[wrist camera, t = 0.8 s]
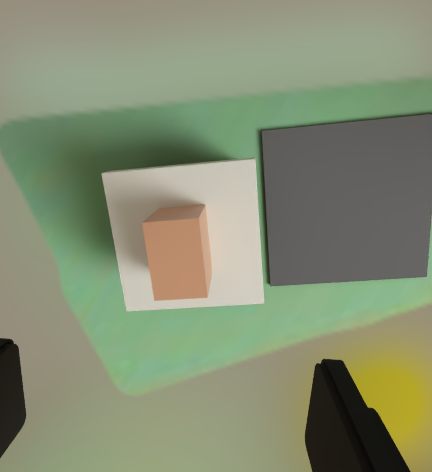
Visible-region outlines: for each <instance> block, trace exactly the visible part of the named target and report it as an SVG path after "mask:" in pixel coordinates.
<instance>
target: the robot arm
mask: <svg viewBox="0 0 432 472" xmlns="http://www.w3.org/2000/svg"><path fill="white" fill-rule="evenodd" d="M25 419H26V409H25V400H24V392H23V383H22V375H21V366H20V357H19V349H18V346H17V345H16V344H14V342H13V341H12V340H11V339H2V338H0V458H1V456H2V455H3V454H4V452H5V451H6V449H7V448H8V446H9V445H10V444H11V442H12V441H13V440H14V438H15V437H16V435H17V434H18V432H19V431H20V430H21V428H22V427H23V425H24V422H25ZM305 443H306V448H307V452H308V456H309V460H310V464H311V468H312V472H410V470H409V468H408V466H407V465H406V463H405V461H404V459H403V457H402V456H401V454H400V452H399V450H398V448H397V447H396V445H395V443H394V441H393V440H392V438H391V436H390V434H389V432H388V431H387V429H386V427H385V425H384V424H383V422H382V420H381V418H380V416H379V415H378V413H377V412H376V410H375V409H373V408H368V407H367V405H366V404H365V402H364V400H363V398H362V396H361V394H360V392H359V390H358V389H357V387H356V385H355V383H354V381H353V379H352V377H351V375H350V373H349V372H348V370H347V368H346V366H345V364H344V362H343V361H342V360H331V359H323V360H322V362H321V364H318V363H317V364H316V366H315V371H314V378H313V384H312V391H311V397H310V405H309V411H308V417H307V424H306V431H305Z"/></svg>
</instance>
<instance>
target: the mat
mask: <svg viewBox="0 0 432 472" xmlns="http://www.w3.org/2000/svg"><path fill="white" fill-rule="evenodd" d="M262 147H263V165H264V183H265V201H266V219H267V237H268V254H269V272H270V286H283V285H299V284H316V283H332V282H349V281H366V280H382V279H399V278H415V277H427V267H428V254H429V241H430V228H431V215H432V114H426V115H416V116H406V117H396V118H386V119H376V120H366V121H356V122H346V123H336V124H326V125H316V126H305V127H295V128H285V129H275V130H265V131H262Z"/></svg>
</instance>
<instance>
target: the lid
mask: <svg viewBox="0 0 432 472" xmlns="http://www.w3.org/2000/svg"><path fill="white" fill-rule="evenodd" d="M101 174H102V179H103V185H104V190H105V196H106V201H107V207H108V212H109V218H110V223H111V228H112V234H113V239H114V245H115V250H116V256H117V261H118V267H119V272H120V278H121V283H122V289H123V294H124V300H125V305H126V310H127V311H140V310H157V309H175V308H193V307H211V306H229V305H247V304H264V291H263V275H262V259H261V243H260V227H259V211H258V195H257V179H256V163H255V158H243V159H232V160H222V161H211V162H200V163H189V164H179V165H168V166H157V167H146V168H136V169H125V170H114V171H108V172H105V173H101Z"/></svg>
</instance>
